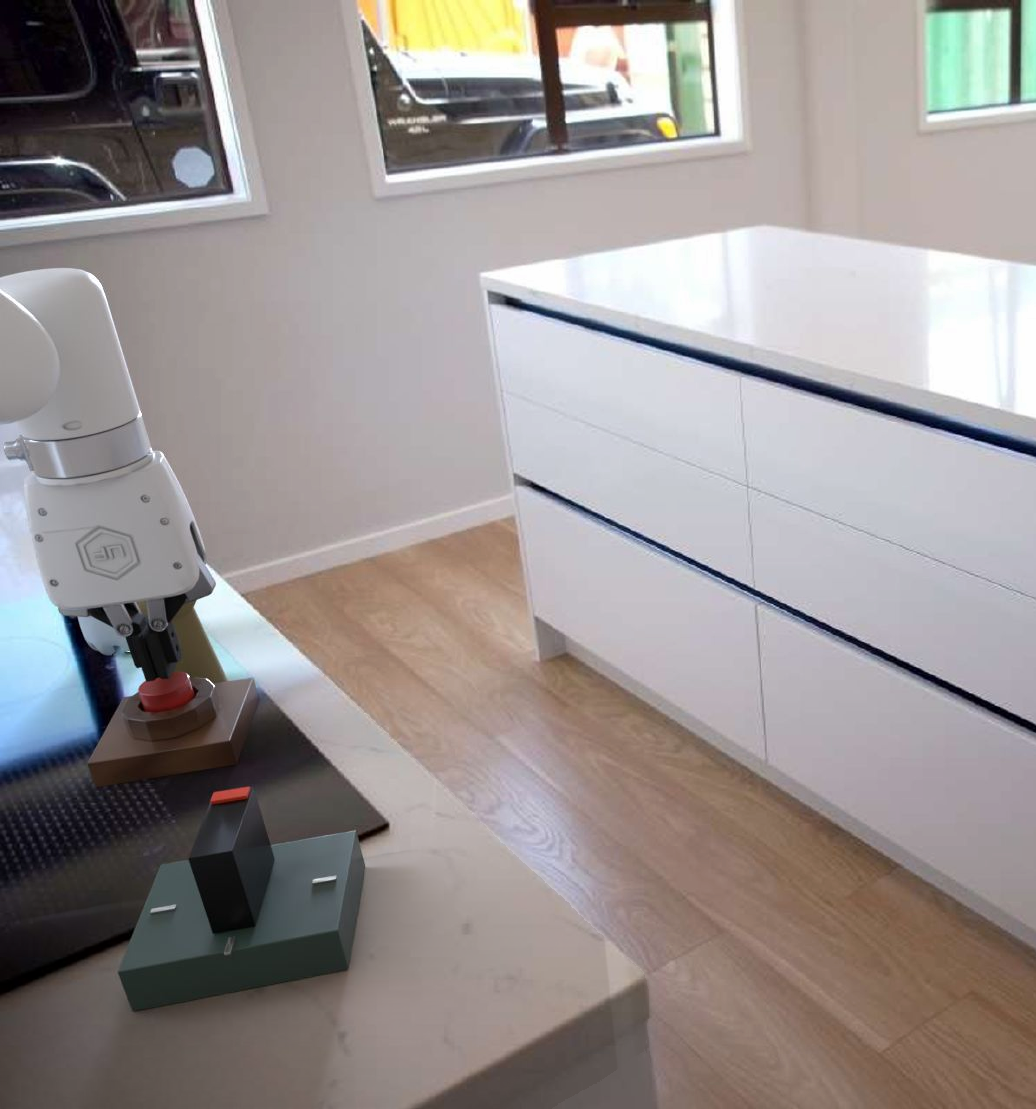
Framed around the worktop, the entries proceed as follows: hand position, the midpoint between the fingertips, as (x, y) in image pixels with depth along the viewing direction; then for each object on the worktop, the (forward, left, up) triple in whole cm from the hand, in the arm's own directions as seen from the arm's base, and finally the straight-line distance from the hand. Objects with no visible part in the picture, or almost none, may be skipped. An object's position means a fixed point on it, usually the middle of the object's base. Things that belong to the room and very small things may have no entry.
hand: (162, 671), depth 97 cm
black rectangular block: (+10, -26, -3) cm, 28 cm away
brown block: (0, 0, -6) cm, 6 cm away
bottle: (-9, +20, -7) cm, 23 cm away
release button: (0, 0, -3) cm, 3 cm away
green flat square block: (+10, -26, -6) cm, 29 cm away
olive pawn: (-1, +8, -7) cm, 10 cm away
